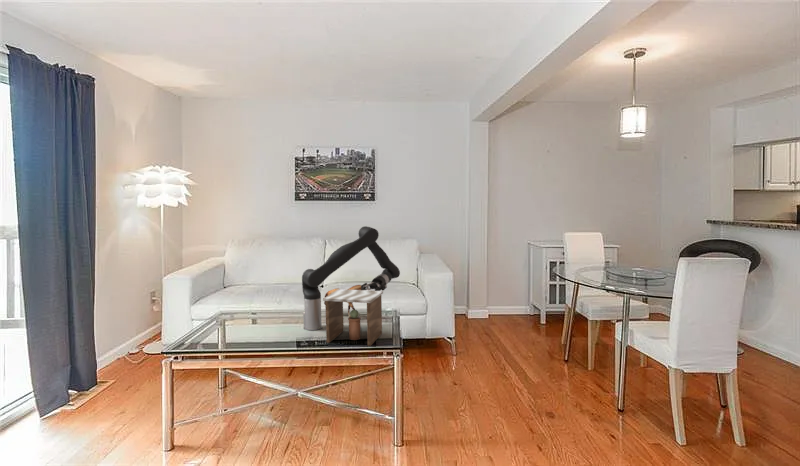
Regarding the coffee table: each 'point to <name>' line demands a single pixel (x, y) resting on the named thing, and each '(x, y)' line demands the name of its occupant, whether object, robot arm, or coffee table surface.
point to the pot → (354, 325)
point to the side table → (361, 296)
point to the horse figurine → (356, 287)
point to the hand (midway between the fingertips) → (368, 290)
